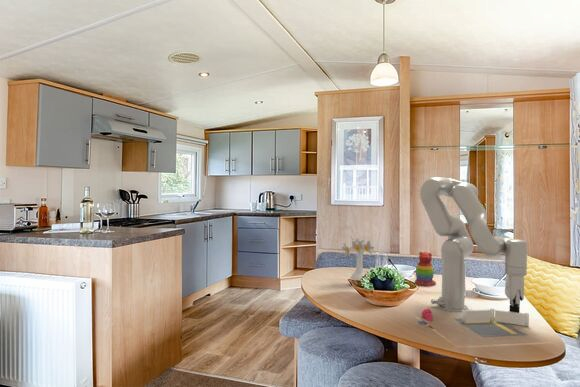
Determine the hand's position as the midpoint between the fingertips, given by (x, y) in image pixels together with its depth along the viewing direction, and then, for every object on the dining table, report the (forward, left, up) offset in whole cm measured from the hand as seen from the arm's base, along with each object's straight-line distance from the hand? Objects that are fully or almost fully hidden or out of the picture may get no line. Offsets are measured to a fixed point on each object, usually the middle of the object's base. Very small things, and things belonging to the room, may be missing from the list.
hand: (514, 315), depth 152 cm
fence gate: (-2, -1, -2) cm, 4 cm away
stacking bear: (-6, +60, -4) cm, 60 cm away
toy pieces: (-33, +4, -4) cm, 34 cm away
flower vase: (-44, +60, -4) cm, 75 cm away
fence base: (-8, -3, -3) cm, 9 cm away
